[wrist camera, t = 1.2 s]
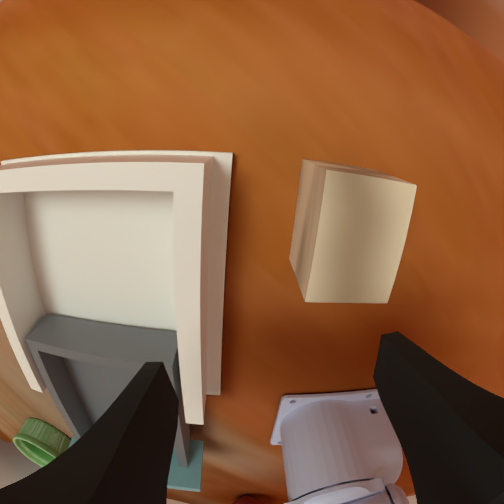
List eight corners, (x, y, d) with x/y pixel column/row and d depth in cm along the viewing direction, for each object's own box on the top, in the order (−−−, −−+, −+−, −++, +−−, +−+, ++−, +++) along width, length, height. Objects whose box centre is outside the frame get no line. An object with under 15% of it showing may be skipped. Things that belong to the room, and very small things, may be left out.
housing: (220, 389, 22) (218, 435, 18) (49, 362, 21) (28, 396, 17) (232, 152, 16) (230, 159, 11) (6, 159, 14) (-38, 172, 10)
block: (373, 169, 16) (416, 185, 12) (355, 262, 18) (387, 303, 14) (301, 158, 16) (326, 169, 11) (289, 258, 18) (304, 301, 14)
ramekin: (41, 443, 28) (32, 464, 24) (14, 406, 25) (1, 429, 21) (89, 459, 29) (82, 483, 25) (64, 424, 25) (53, 451, 21)
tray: (203, 444, 24) (200, 491, 19) (82, 423, 23) (66, 463, 18) (198, 333, 19) (188, 397, 14) (35, 310, 18) (-2, 354, 13)
